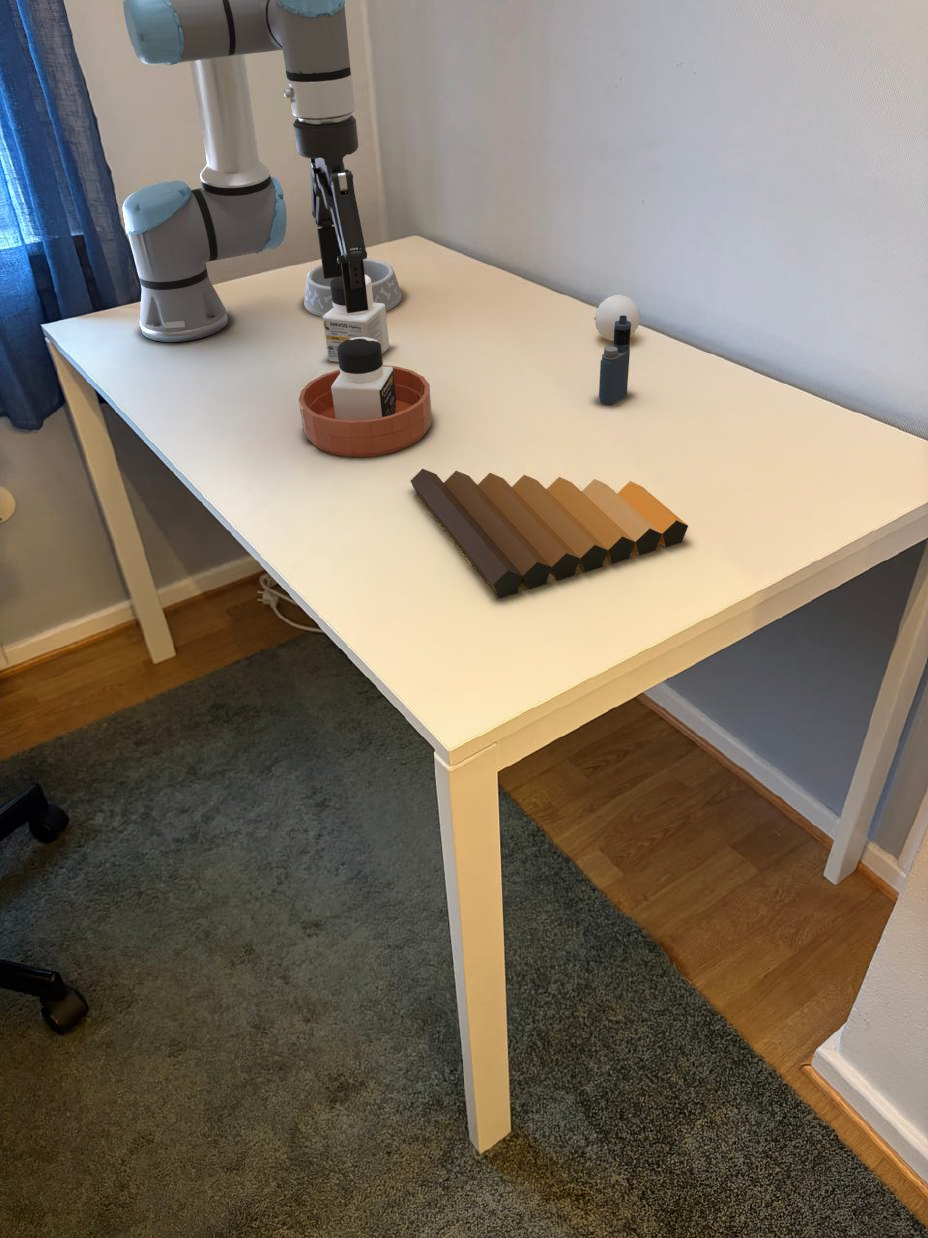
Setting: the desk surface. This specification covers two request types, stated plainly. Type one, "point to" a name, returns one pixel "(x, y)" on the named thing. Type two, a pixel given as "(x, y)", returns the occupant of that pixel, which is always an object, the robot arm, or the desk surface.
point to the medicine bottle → (363, 382)
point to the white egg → (616, 315)
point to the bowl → (370, 433)
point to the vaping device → (615, 364)
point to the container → (353, 320)
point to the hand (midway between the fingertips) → (345, 293)
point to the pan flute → (545, 525)
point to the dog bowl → (378, 271)
